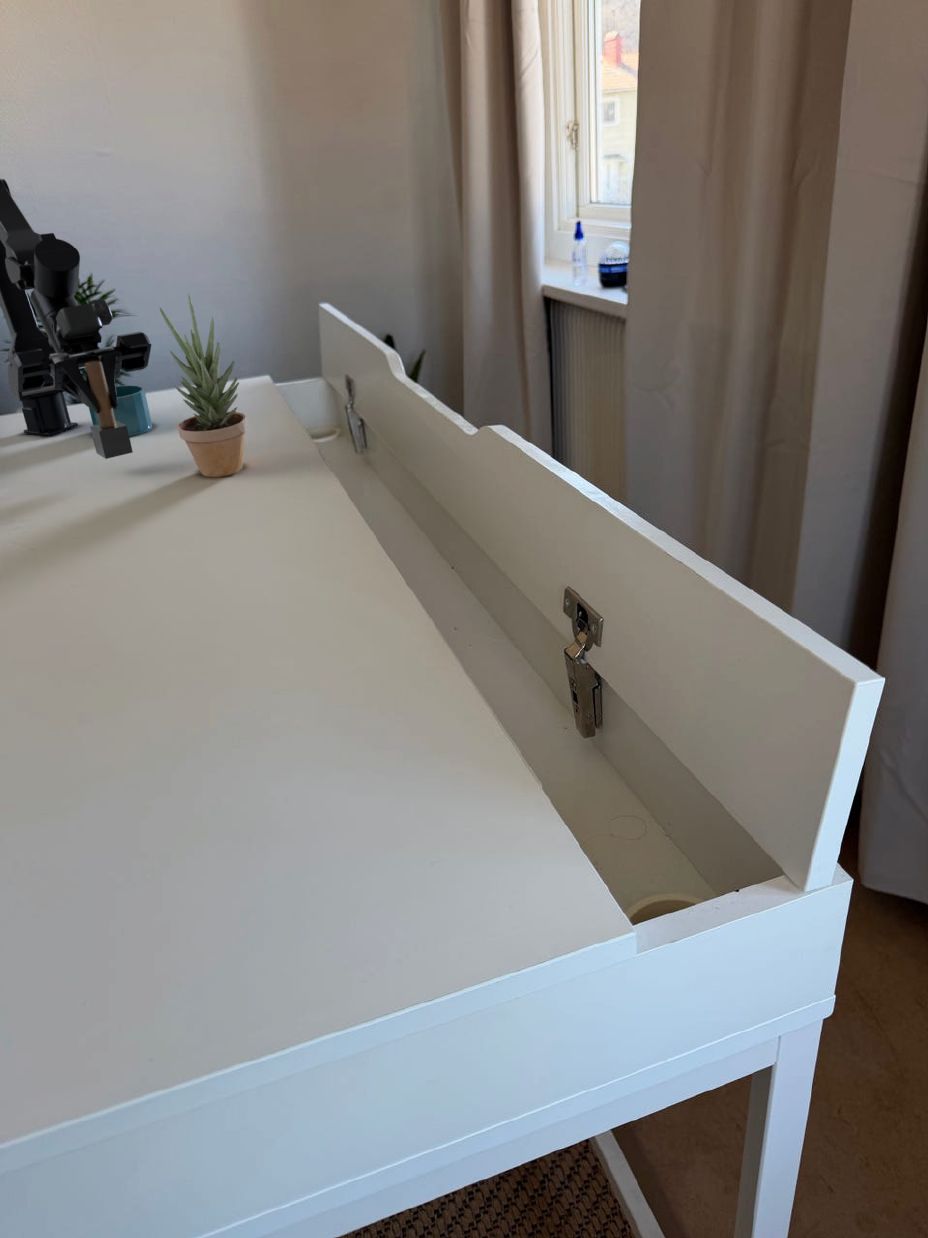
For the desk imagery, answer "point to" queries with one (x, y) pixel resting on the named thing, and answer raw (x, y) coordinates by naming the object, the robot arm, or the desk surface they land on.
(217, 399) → the potted plant
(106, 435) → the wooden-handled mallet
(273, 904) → the desk surface
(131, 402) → the teal paint pail
